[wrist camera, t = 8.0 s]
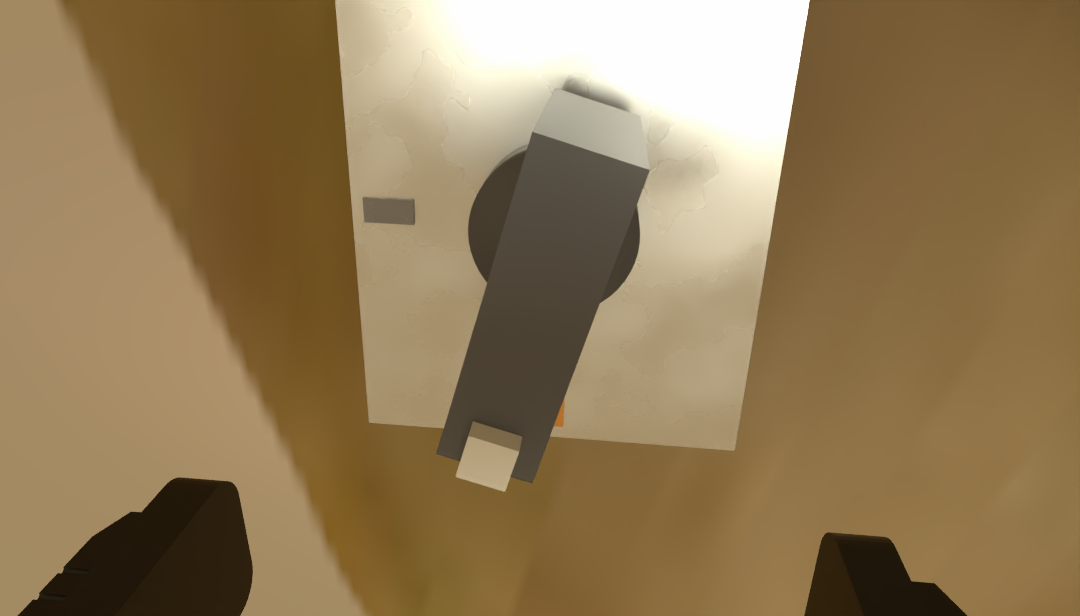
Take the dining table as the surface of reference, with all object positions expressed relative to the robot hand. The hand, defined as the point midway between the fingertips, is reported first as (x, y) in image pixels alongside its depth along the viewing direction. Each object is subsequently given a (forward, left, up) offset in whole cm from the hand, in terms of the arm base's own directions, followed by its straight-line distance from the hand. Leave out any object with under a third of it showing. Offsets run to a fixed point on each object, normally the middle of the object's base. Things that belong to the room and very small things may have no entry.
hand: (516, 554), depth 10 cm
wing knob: (0, 0, -14) cm, 14 cm away
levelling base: (0, -1, -17) cm, 17 cm away
